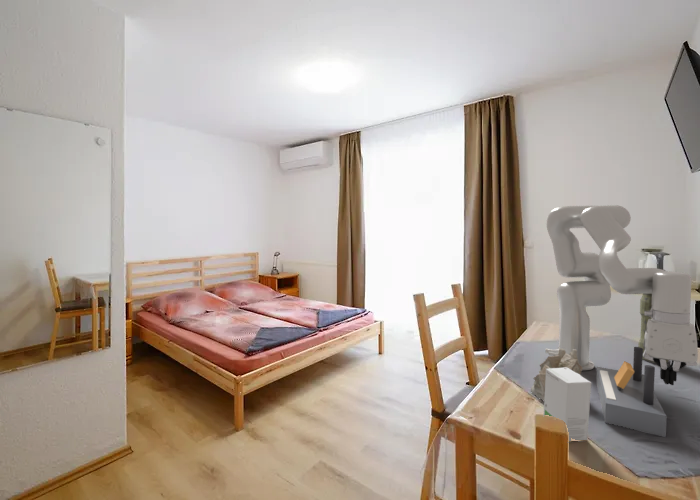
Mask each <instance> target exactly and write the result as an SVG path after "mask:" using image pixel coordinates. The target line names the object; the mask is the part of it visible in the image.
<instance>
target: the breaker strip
mask: <svg viewBox="0 0 700 500" xmlns="http://www.w3.org/2000/svg"><path fill="white" fill-rule="evenodd" d="M618 371H619V369H612V368H607V367H601V366H600V367H599V366H596V379H595V380H596V388H597V391H598V396H599V401H600V405H601V411H602V415H604V416H603V420H604V423H605V424H608V423H609V425H612V424H614V425H613V426H617V425H618V426H617V427H621V426H623V427H622V428H625V427H627V428H626V429H629V428H630V430H633V429H634V431H638V432H643V433H647V434H651V435H653V436H654V435H655V436H659V437H663V438H666V436H667V418H668V417H667V414H666V412H665V410H664V408H663V407H662V405H661V403H660V400H659V399H658V397H657V395H656V394H655V393H654V400H653V405H648V404H645V403H644V402H643V394H644V373H642V381H641V382H639V381H635V380H633V375H632V377H631V378H630V380H629V381H628V383H627V385H626V386H625V388H624V389H622V388H621V390H620V391H619V390H618V388H617V385H616V383H615V378H614V377H615V375H616V374H617V372H618Z"/></svg>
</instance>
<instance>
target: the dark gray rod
mask: <svg viewBox="0 0 700 500" xmlns="http://www.w3.org/2000/svg"><path fill="white" fill-rule="evenodd" d="M655 370H656V368H655V366H653V365H650V364H645V365H644V369H643V371H644V373H643V375H644V394H643V402H644V403H645V404H648V405H653V400H654V394H655V390H654V389H655V372H656V371H655Z"/></svg>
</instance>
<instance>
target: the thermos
mask: <svg viewBox="0 0 700 500" xmlns="http://www.w3.org/2000/svg"><path fill="white" fill-rule="evenodd" d="M660 269H661V268H660ZM661 270H663V269H661ZM651 308H652V294H641V297H640V302H639V313H640V318H641V319H640V339H639V341H638V342H637V343H638V346H637V347H640V348H643V353H644V337H645V331H646V326H647V322H648V319H651V317H650V316H645V311H650V310H651ZM642 361H644V362H647V363H652V364H656V365H658V364H657V363H655V362H654V361H651V360H648V359H645V358H644V357H643V358H642ZM669 363H670V360H666V365H668V364H669Z"/></svg>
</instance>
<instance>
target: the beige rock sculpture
mask: <svg viewBox="0 0 700 500" xmlns="http://www.w3.org/2000/svg"><path fill="white" fill-rule="evenodd" d="M576 353H577V350H576V349H573V350H572V352H570V354H569V355H568V354H566V352H565V350H564V349H559V351H558V355H557V356H550V355H548V356H547V357H546V359H545V360H544V361H543V362H541V363H540V364H539V367H540V370H539V371H538V374H536V375H535V377H533V380H534V382H533V385H532V387H530V393H531V392H532V393H533V394H534V395H533V394H532V393H531V394H532V395H533V396H535V395H536V396H535V397H536V398H537V399H539V398H540V399H542V400H544V398H545V380H546V369H549V368H564V367H567V368H569V369H571V370H572V371H574V372H575V373H578V374H580V375H581V376H582V371H584V370H583V369H582V367H581V366H580V365H579V363H578V360H577V354H576ZM540 399H539V400H540ZM542 400H541V401H542Z"/></svg>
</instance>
